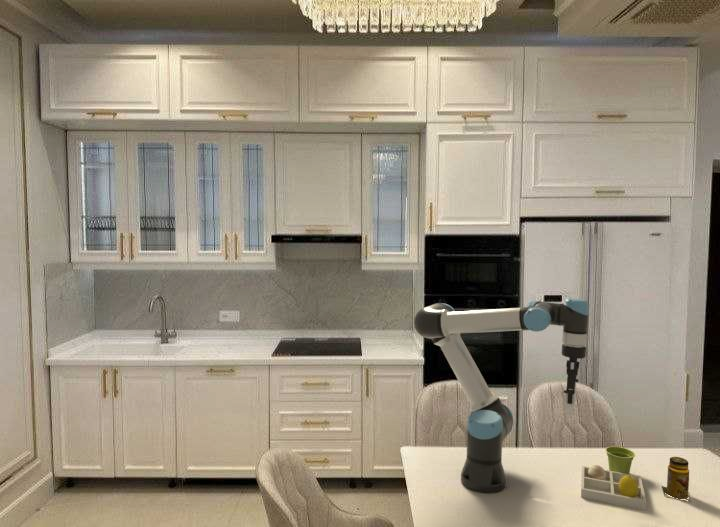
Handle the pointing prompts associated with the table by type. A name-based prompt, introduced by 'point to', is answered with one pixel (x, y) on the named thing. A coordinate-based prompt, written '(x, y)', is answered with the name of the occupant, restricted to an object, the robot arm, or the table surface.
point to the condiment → (677, 479)
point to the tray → (611, 489)
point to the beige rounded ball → (597, 472)
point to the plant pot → (619, 459)
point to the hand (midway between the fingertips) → (569, 406)
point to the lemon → (628, 486)
